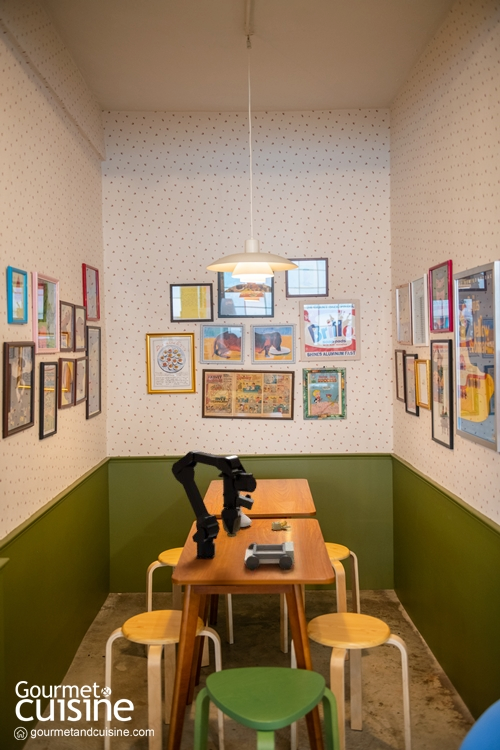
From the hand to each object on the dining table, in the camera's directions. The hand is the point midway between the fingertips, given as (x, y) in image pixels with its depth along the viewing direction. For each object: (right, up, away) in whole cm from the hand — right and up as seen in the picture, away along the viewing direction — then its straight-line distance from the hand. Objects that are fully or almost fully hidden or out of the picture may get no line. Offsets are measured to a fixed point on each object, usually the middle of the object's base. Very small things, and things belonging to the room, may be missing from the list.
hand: (231, 531), depth 248 cm
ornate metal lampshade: (0, -2, 0) cm, 2 cm away
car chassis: (+14, -12, 0) cm, 18 cm away
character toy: (+22, -11, +47) cm, 53 cm away
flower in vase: (+2, -11, +54) cm, 55 cm away
